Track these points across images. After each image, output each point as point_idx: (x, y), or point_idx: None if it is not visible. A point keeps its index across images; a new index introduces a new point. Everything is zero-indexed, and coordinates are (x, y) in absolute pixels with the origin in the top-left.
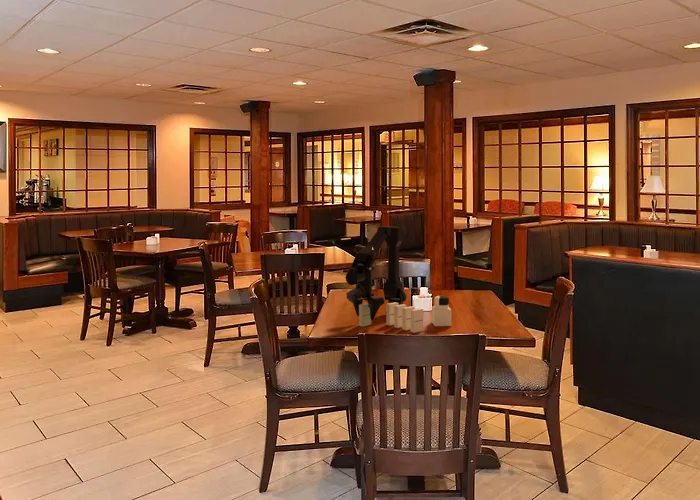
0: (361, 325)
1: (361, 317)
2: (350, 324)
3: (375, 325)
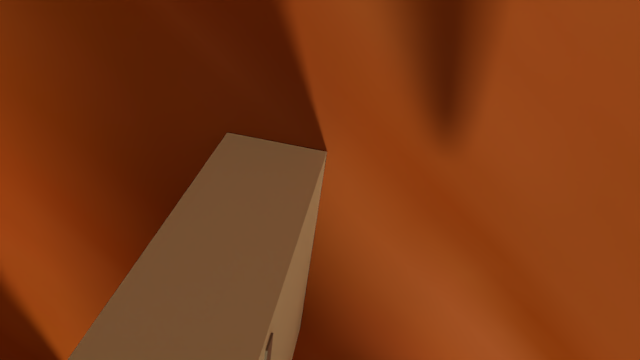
0: (237, 144)
1: (163, 261)
2: (559, 115)
3: None
